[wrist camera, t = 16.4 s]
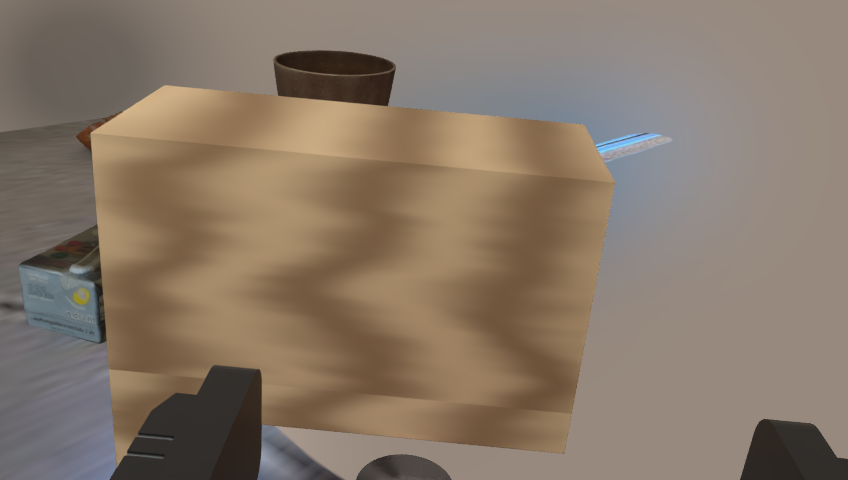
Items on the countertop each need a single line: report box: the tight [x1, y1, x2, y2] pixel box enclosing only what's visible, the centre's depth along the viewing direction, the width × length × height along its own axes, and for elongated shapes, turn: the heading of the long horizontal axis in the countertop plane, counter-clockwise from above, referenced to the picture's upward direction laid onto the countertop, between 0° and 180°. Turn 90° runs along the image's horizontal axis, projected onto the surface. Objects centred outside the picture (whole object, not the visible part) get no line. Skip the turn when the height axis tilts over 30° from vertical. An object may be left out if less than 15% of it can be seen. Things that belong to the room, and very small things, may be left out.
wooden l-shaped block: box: [90, 85, 615, 467], centre depth 39 cm, size 19×8×27 cm, turn 87°
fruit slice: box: [76, 112, 122, 150], centre depth 109 cm, size 8×7×5 cm
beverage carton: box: [19, 224, 107, 343], centre depth 74 cm, size 8×19×7 cm, turn 162°
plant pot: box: [273, 50, 396, 106], centre depth 103 cm, size 15×15×16 cm
